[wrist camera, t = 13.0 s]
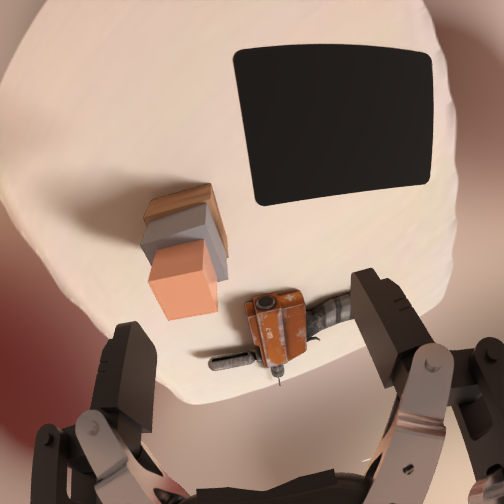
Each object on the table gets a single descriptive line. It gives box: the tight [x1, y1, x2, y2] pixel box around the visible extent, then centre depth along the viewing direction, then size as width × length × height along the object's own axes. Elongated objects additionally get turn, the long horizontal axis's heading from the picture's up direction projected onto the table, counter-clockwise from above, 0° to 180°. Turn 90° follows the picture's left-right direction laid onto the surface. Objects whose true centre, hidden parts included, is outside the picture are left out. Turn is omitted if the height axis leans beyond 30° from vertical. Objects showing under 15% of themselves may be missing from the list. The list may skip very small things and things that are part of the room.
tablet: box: [233, 44, 434, 206], centre depth 33 cm, size 27×1×20 cm
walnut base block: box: [143, 184, 229, 258], centre depth 36 cm, size 8×8×5 cm
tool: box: [208, 291, 354, 385], centre depth 52 cm, size 4×27×30 cm
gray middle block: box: [140, 203, 228, 282], centre depth 32 cm, size 7×7×5 cm
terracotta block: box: [148, 239, 218, 321], centre depth 28 cm, size 5×5×5 cm
